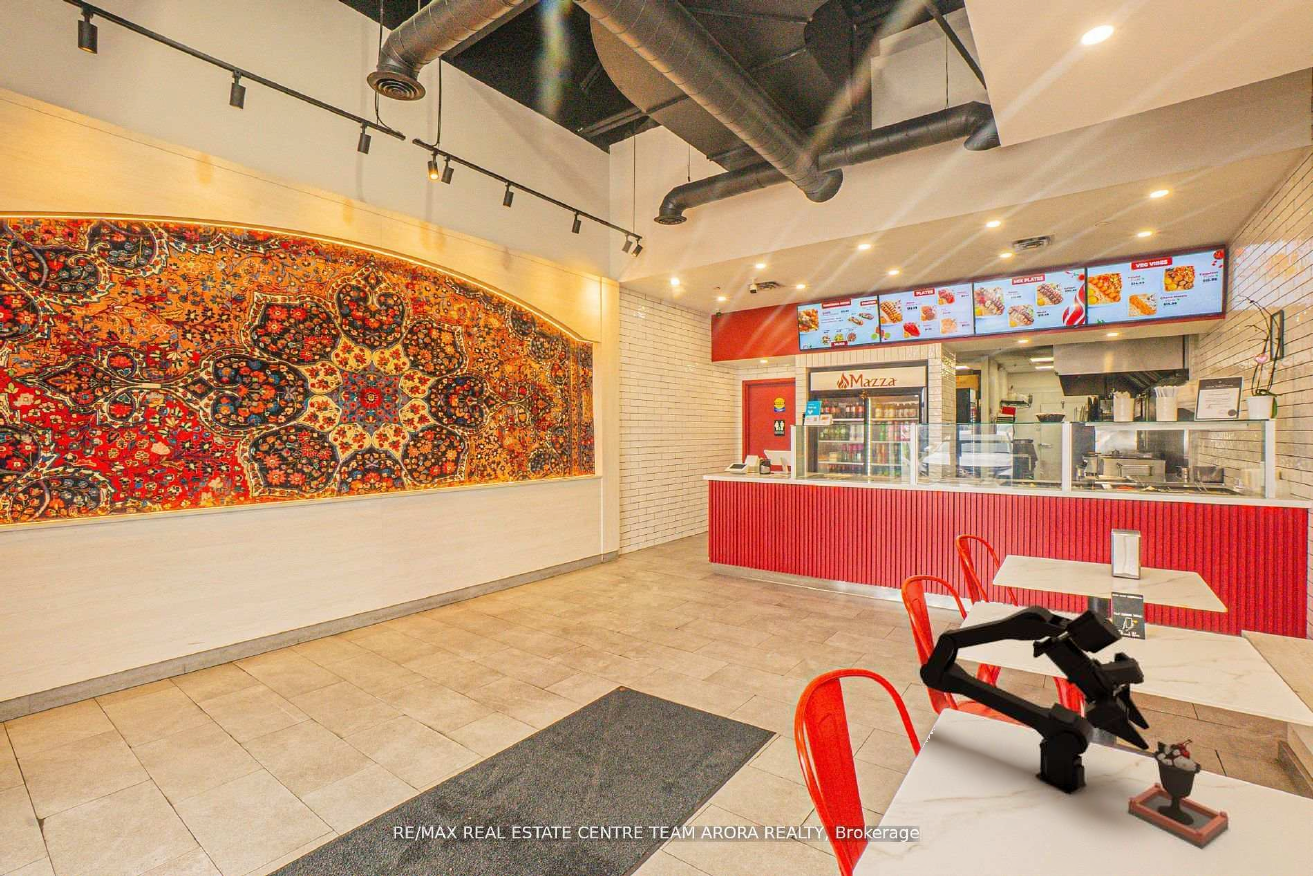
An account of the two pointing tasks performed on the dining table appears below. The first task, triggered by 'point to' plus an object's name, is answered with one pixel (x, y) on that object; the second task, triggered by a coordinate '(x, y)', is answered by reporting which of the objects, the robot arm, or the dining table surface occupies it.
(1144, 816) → the baseplate
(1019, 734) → the dining table surface
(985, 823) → the dining table surface
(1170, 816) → the sundae
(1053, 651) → the robot arm
